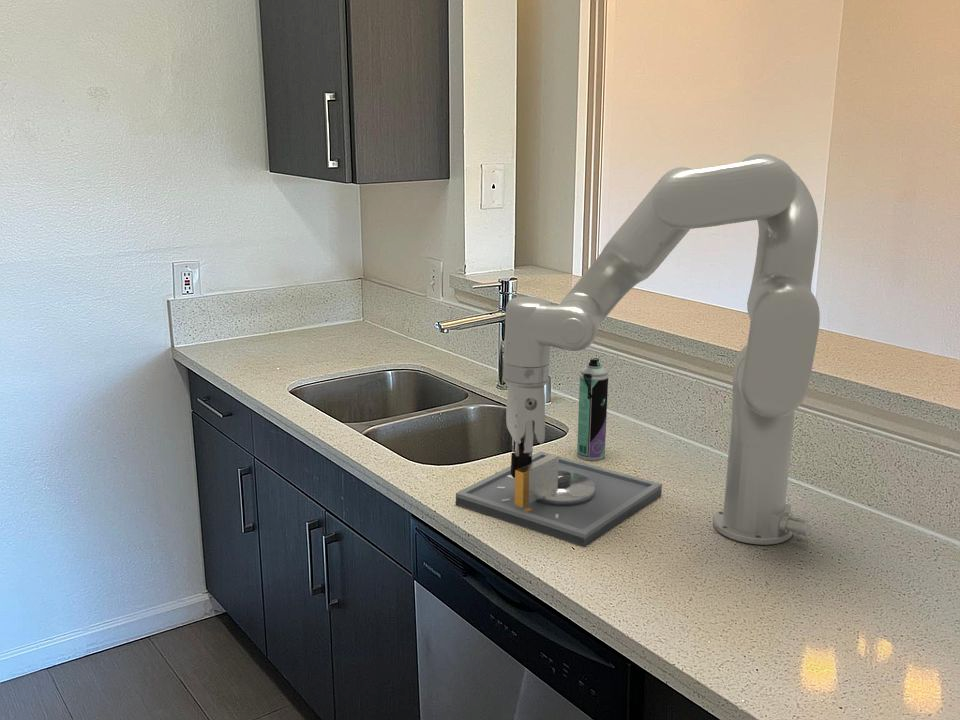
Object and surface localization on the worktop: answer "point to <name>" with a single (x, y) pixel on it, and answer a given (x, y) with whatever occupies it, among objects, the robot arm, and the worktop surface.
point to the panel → (568, 523)
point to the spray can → (592, 411)
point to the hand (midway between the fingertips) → (520, 475)
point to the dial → (551, 484)
